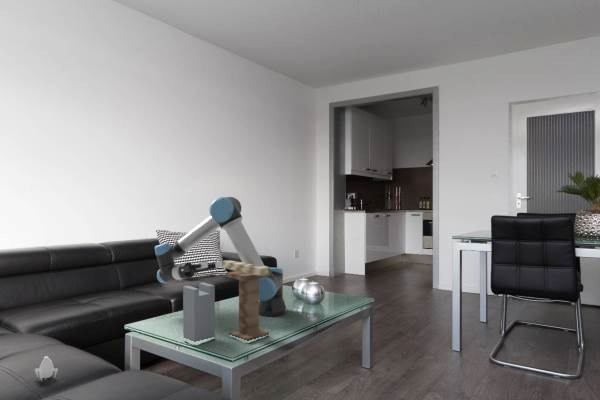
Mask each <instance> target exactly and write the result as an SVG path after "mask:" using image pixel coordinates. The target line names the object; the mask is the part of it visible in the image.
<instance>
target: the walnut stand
mask: <svg viewBox="0 0 600 400" xmlns="http://www.w3.org/2000/svg"><path fill="white" fill-rule="evenodd" d="M269 276H270V271H268V275H264V276H259V275H254V274H249V273H244V272H240V271H235V270H232V271H229V272H226V278H230V279H234V280H238V329H234V330H232V331H230V332H228V336H229V335H232V336H235V337H238V338H241V339H244V340H247V341H249V340H252V339H256V338H259V337H263V336H266V335H269V336H270V332H269V331H267V330H264V329H261V328H260V315H259V278H264V277H269Z"/></svg>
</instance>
